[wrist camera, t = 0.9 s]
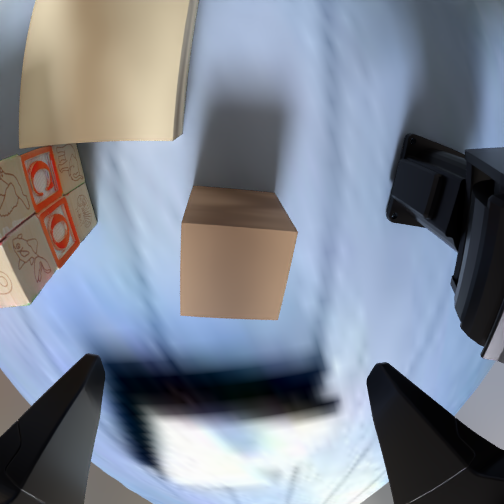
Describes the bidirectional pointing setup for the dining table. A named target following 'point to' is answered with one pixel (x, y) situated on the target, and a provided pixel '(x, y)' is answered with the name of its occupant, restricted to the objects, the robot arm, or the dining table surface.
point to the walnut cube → (234, 254)
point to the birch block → (105, 71)
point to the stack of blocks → (40, 218)
